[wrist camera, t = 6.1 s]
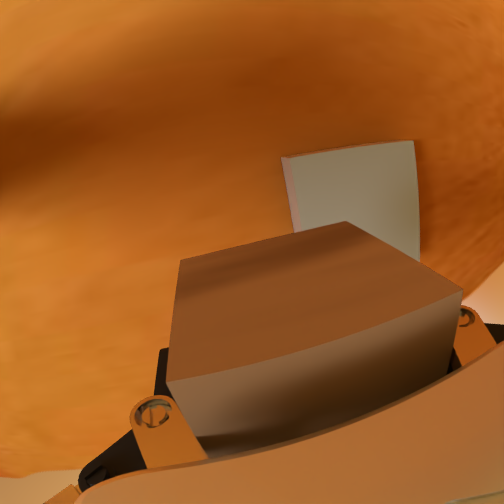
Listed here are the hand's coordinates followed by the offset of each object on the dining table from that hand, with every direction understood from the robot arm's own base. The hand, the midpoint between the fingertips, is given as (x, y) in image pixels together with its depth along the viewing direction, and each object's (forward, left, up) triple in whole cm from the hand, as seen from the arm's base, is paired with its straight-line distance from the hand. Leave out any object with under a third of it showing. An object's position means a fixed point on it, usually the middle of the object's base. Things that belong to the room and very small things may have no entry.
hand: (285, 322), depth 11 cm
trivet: (+2, +11, -16) cm, 19 cm away
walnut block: (0, 0, -1) cm, 1 cm away
